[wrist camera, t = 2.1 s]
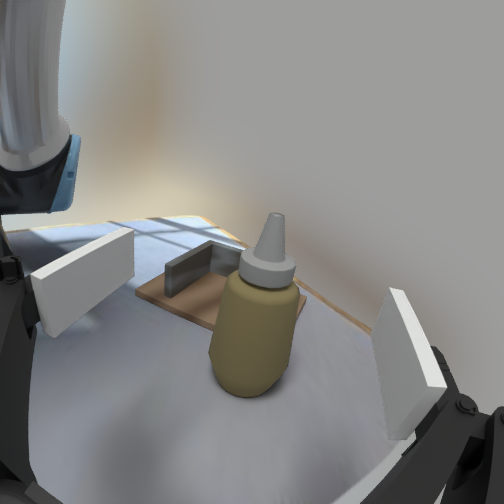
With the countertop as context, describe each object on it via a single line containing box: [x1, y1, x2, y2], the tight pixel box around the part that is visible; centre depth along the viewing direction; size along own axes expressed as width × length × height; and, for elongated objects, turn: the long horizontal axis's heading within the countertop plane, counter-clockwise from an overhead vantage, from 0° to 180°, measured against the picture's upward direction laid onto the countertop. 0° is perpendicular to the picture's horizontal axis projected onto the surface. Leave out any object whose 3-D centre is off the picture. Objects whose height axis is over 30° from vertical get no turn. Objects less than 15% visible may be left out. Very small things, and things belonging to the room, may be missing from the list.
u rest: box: [135, 240, 307, 331], centre depth 42 cm, size 22×15×6 cm
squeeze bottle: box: [208, 213, 300, 397], centre depth 26 cm, size 8×8×18 cm
